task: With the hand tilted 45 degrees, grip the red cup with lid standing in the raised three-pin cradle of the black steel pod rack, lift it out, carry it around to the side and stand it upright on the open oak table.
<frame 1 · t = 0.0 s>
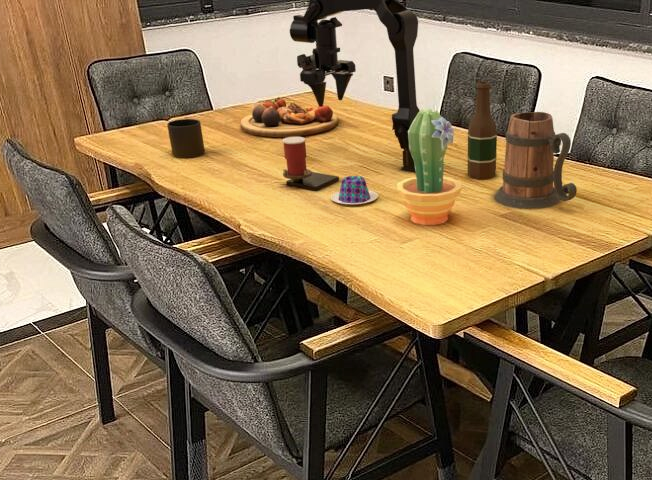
hand: (330, 103, 237), 15 cm above the table, tool pointing down, fingers open, 9 cm apart
red cup with lid: (297, 172, 220), point 3 cm above the table, touching pod rack
dark brown cup: (187, 153, 250), on the table
pudding: (354, 200, 212), on the table
potted cactus: (429, 219, 199), on the table
tankard: (536, 201, 209), on the table
beer bottle: (481, 176, 227), on the table
pod rack: (298, 184, 222), on the table
wooden plate: (290, 126, 275), on the table
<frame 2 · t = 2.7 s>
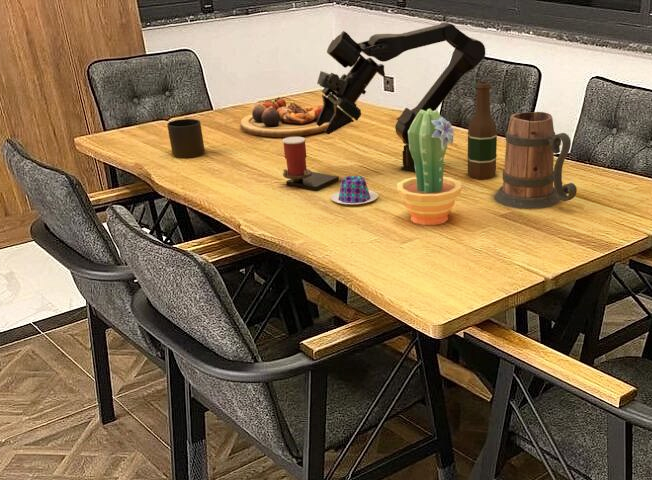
hand: (322, 129, 219), 13 cm above the table, tool tilted 40°, fingers open, 9 cm apart
nothing on the table moved.
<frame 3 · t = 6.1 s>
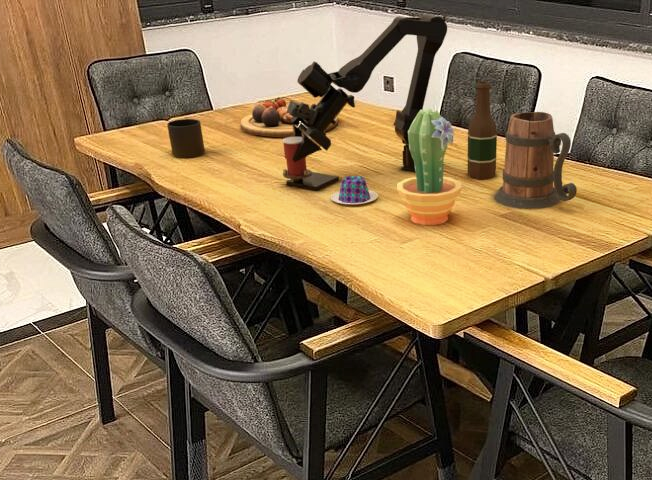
hand: (290, 157, 218), 7 cm above the table, tool tilted 45°, fingers closed on red cup with lid, 5 cm apart
red cup with lid: (297, 172, 220), point 3 cm above the table, touching gripper, pod rack
everything else where it was.
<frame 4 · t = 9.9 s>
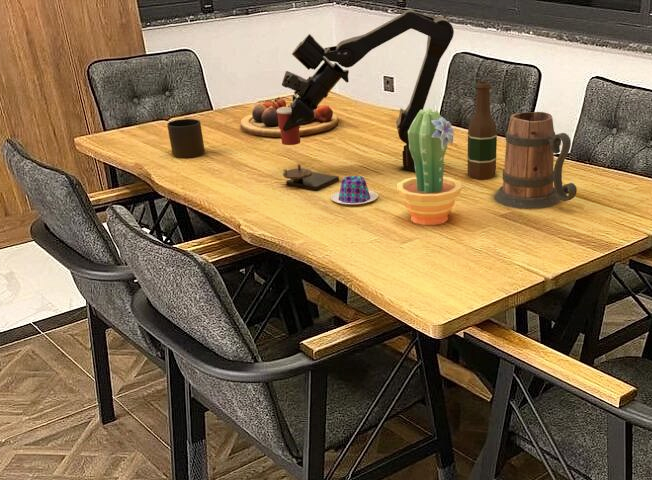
hand: (284, 127, 224), 13 cm above the table, tool tilted 45°, fingers closed on red cup with lid, 5 cm apart
red cup with lid: (291, 142, 226), point 8 cm above the table, touching gripper
everything else where it was.
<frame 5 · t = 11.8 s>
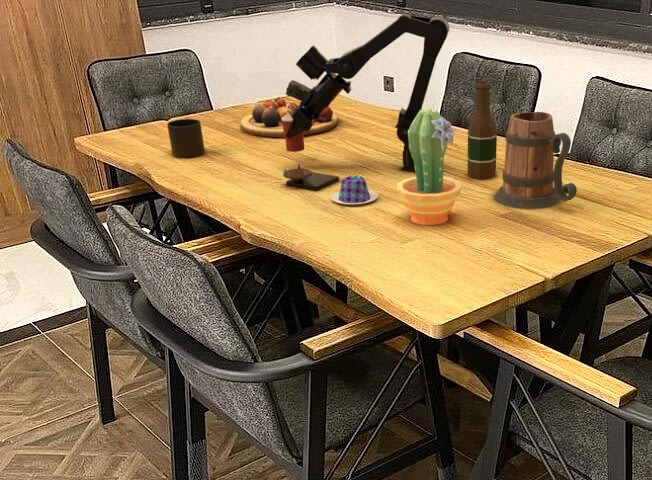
hand: (289, 134, 231), 9 cm above the table, tool tilted 45°, fingers closed on red cup with lid, 5 cm apart
red cup with lid: (295, 149, 233), point 5 cm above the table, touching gripper
everything else where it was.
when the fingers open (4 cm above the table, at t = 13.8 s): red cup with lid stays where it is, on the table.
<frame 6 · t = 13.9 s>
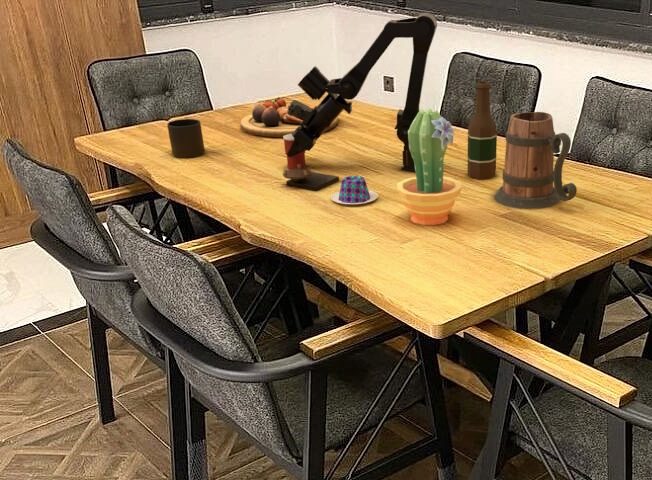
hand: (290, 152, 234), 4 cm above the table, tool tilted 45°, fingers open, 6 cm apart
red cup with lid: (296, 167, 236), on the table
everything else where it was.
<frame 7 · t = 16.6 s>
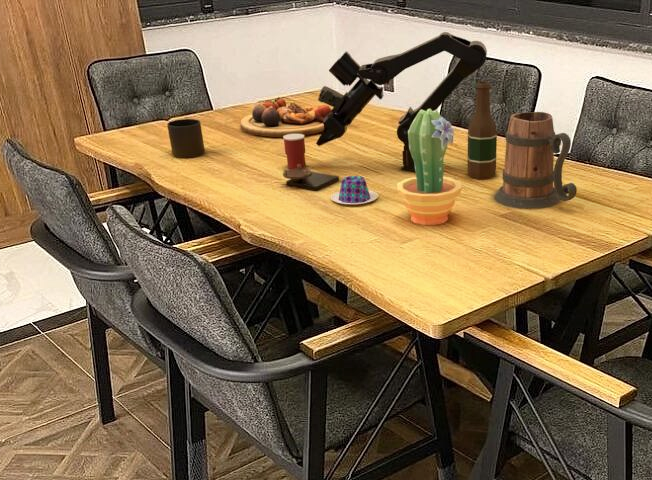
hand: (320, 140, 231), 8 cm above the table, tool tilted 45°, fingers open, 9 cm apart
nothing on the table moved.
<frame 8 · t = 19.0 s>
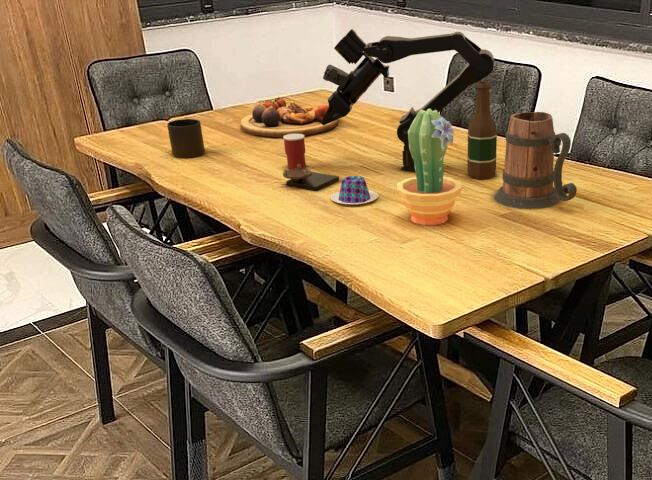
hand: (325, 119, 228), 13 cm above the table, tool tilted 45°, fingers open, 9 cm apart
nothing on the table moved.
at the end: red cup with lid inside the target area (0.1 cm from its centre), on the table; red cup with lid tilted 0°; the gripper is holding nothing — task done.
